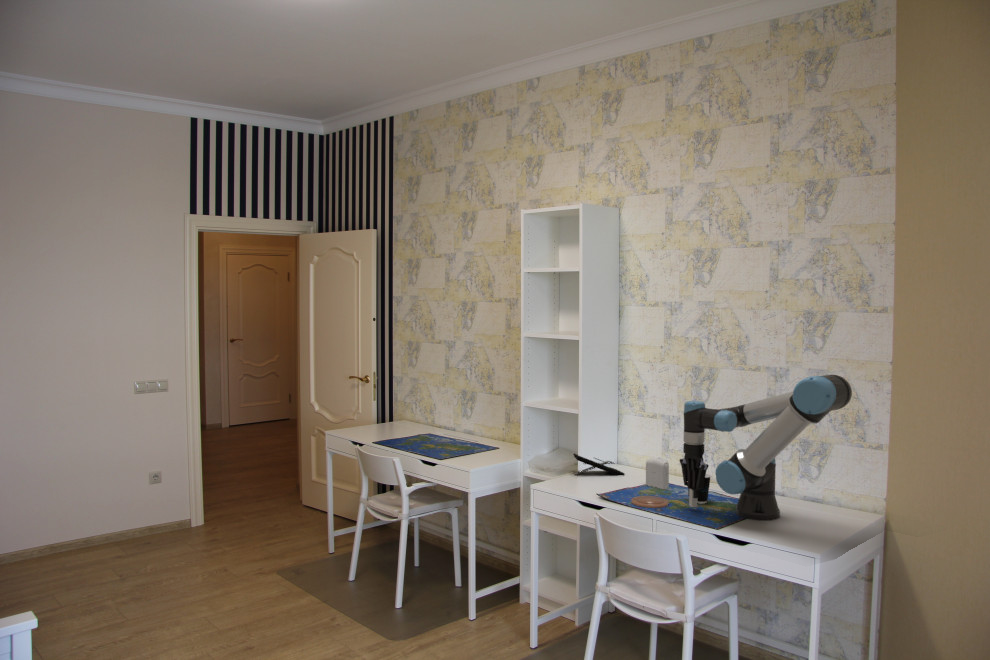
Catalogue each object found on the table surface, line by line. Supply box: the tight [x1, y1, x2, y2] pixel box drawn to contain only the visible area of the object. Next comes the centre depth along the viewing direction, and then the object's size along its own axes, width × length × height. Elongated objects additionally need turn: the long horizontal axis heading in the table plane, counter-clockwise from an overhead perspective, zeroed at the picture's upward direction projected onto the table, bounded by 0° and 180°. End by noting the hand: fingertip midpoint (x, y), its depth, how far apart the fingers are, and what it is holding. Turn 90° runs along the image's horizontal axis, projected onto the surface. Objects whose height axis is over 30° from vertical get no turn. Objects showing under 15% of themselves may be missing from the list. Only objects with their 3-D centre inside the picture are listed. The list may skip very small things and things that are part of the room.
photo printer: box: [645, 457, 670, 490], centre depth 305 cm, size 10×4×12 cm, turn 39°
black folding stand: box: [572, 453, 626, 476], centre depth 329 cm, size 22×10×10 cm, turn 95°
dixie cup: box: [697, 473, 712, 505], centre depth 281 cm, size 8×8×11 cm
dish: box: [630, 495, 670, 509], centre depth 280 cm, size 14×14×1 cm
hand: (693, 506), depth 271 cm, fingers closed
